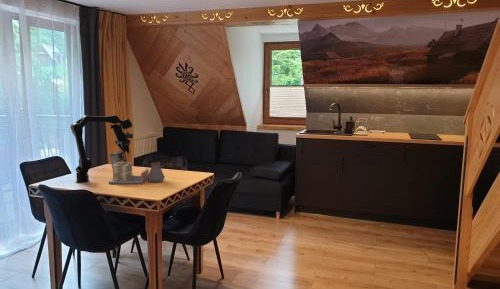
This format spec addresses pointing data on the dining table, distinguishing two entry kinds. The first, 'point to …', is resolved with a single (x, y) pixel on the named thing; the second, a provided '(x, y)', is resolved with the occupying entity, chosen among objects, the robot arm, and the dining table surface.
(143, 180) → the grey tray
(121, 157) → the coffee box
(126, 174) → the box
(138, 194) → the dining table surface
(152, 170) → the coffee pot
